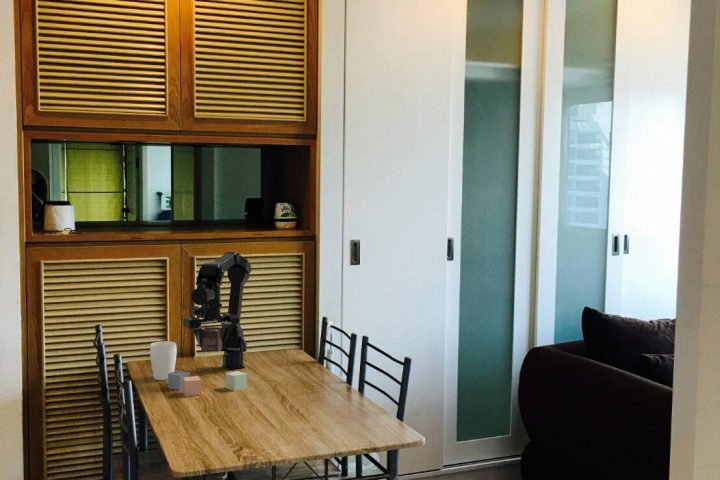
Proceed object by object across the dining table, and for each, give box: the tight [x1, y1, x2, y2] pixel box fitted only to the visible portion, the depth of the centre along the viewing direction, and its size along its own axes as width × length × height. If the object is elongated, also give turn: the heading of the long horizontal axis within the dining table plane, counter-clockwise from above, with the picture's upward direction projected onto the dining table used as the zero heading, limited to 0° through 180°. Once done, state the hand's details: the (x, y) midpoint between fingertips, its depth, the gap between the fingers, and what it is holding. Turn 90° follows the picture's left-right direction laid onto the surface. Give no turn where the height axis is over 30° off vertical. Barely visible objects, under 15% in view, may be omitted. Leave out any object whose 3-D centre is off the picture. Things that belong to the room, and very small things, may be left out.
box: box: [200, 326, 223, 353], centre depth 273 cm, size 6×6×7 cm
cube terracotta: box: [182, 375, 202, 397], centre depth 259 cm, size 5×5×5 cm
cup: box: [149, 340, 178, 381], centre depth 277 cm, size 9×9×12 cm
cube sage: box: [225, 370, 248, 392], centre depth 267 cm, size 5×5×5 cm
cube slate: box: [167, 369, 191, 391], centre depth 266 cm, size 5×5×5 cm
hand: (211, 345), depth 274 cm, fingers closed on box, 8 cm apart
